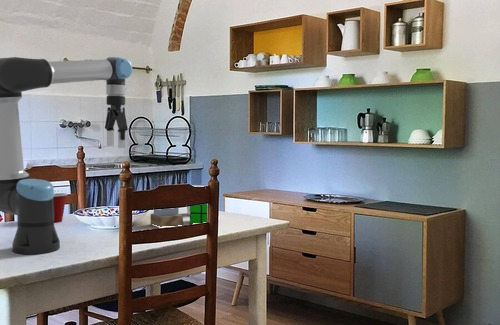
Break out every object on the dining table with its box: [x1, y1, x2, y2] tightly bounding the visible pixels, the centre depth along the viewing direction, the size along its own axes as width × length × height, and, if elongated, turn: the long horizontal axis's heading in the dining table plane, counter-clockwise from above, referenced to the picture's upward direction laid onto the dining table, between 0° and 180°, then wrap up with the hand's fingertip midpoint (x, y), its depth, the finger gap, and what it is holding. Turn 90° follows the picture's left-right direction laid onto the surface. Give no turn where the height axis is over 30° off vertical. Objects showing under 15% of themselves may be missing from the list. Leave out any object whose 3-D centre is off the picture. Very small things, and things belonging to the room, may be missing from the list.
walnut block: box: [150, 212, 184, 227], centre depth 233 cm, size 10×10×5 cm
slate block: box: [153, 208, 180, 216], centre depth 232 cm, size 9×5×4 cm, turn 123°
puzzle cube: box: [189, 204, 207, 225], centre depth 240 cm, size 10×10×10 cm
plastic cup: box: [54, 192, 68, 224], centre depth 237 cm, size 11×11×12 cm
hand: (115, 147), depth 231 cm, fingers open, 13 cm apart
